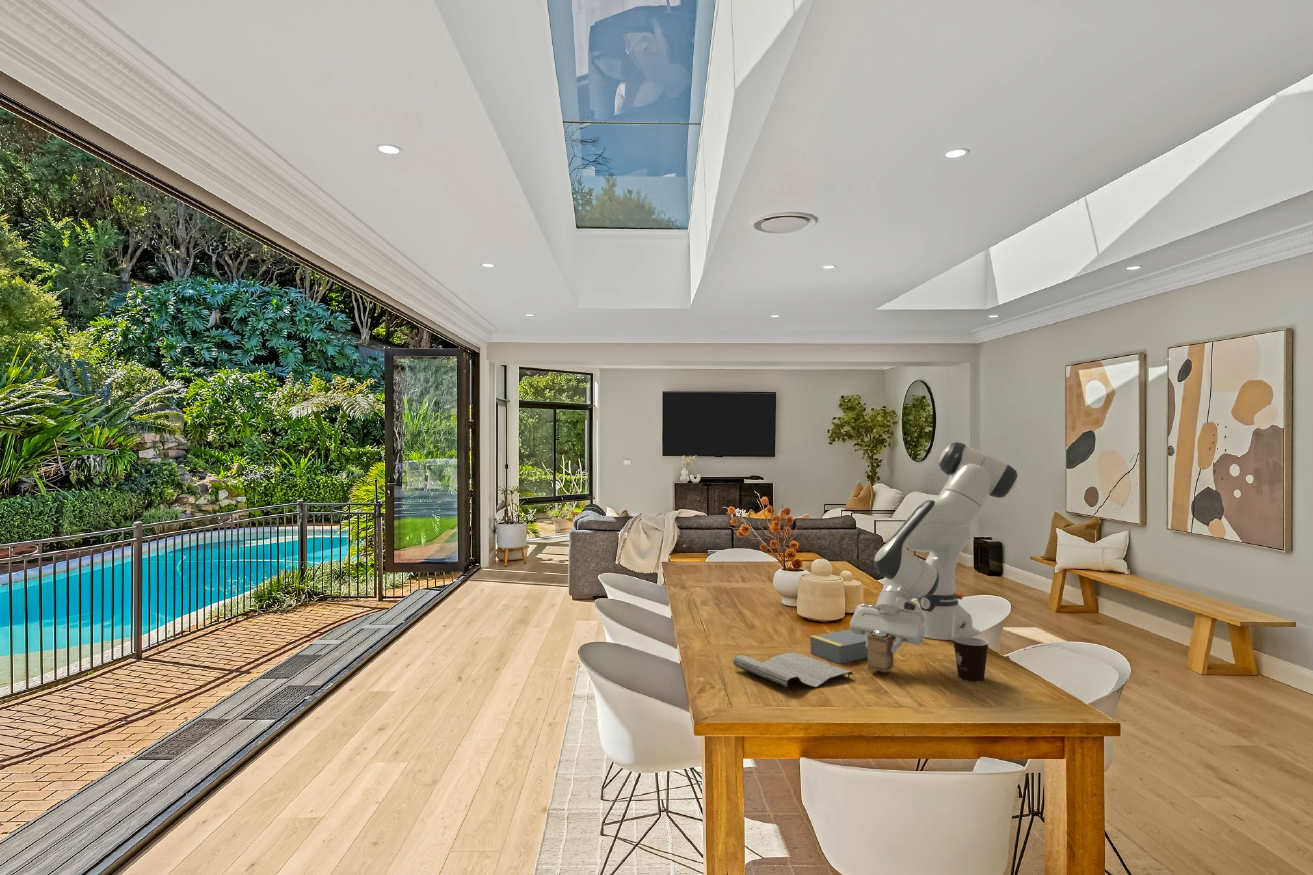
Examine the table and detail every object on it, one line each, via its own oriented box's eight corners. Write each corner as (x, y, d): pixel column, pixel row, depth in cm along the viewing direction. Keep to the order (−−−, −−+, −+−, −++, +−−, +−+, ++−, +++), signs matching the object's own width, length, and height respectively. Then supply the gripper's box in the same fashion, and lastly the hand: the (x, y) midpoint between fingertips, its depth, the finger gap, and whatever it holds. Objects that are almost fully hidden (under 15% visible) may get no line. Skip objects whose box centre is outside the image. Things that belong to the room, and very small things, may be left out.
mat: (853, 681, 183) (853, 663, 183) (787, 697, 171) (787, 678, 171) (795, 658, 203) (795, 642, 203) (732, 671, 191) (732, 654, 191)
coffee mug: (990, 684, 178) (990, 646, 178) (955, 681, 181) (954, 643, 181) (984, 671, 189) (984, 635, 190) (951, 668, 192) (950, 632, 192)
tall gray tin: (875, 663, 192) (875, 631, 192) (893, 666, 189) (893, 634, 189) (867, 668, 187) (867, 635, 188) (885, 672, 184) (885, 639, 184)
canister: (879, 636, 190) (879, 629, 190) (888, 639, 188) (888, 632, 188) (871, 638, 189) (871, 630, 189) (880, 640, 186) (880, 633, 186)
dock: (848, 645, 215) (848, 628, 215) (878, 655, 204) (877, 637, 204) (810, 653, 207) (810, 636, 207) (839, 663, 196) (839, 645, 196)
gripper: (854, 597, 200) (840, 637, 193) (925, 607, 187) (913, 651, 180) (860, 609, 204) (847, 649, 196) (930, 620, 191) (919, 663, 183)
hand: (879, 650), depth 188 cm, fingers closed on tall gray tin, 5 cm apart
